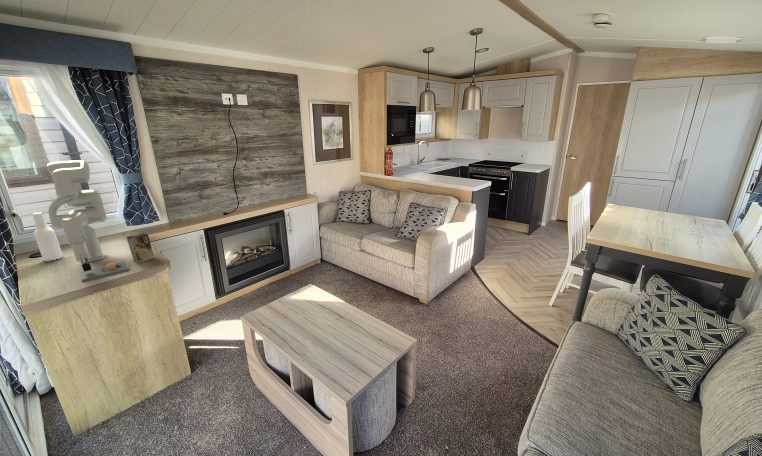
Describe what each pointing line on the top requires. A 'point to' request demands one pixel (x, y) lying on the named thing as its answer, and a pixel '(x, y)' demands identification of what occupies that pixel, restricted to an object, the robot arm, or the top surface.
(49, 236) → the alcohol
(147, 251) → the coffee box
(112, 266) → the ball
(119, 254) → the top surface
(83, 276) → the deck
